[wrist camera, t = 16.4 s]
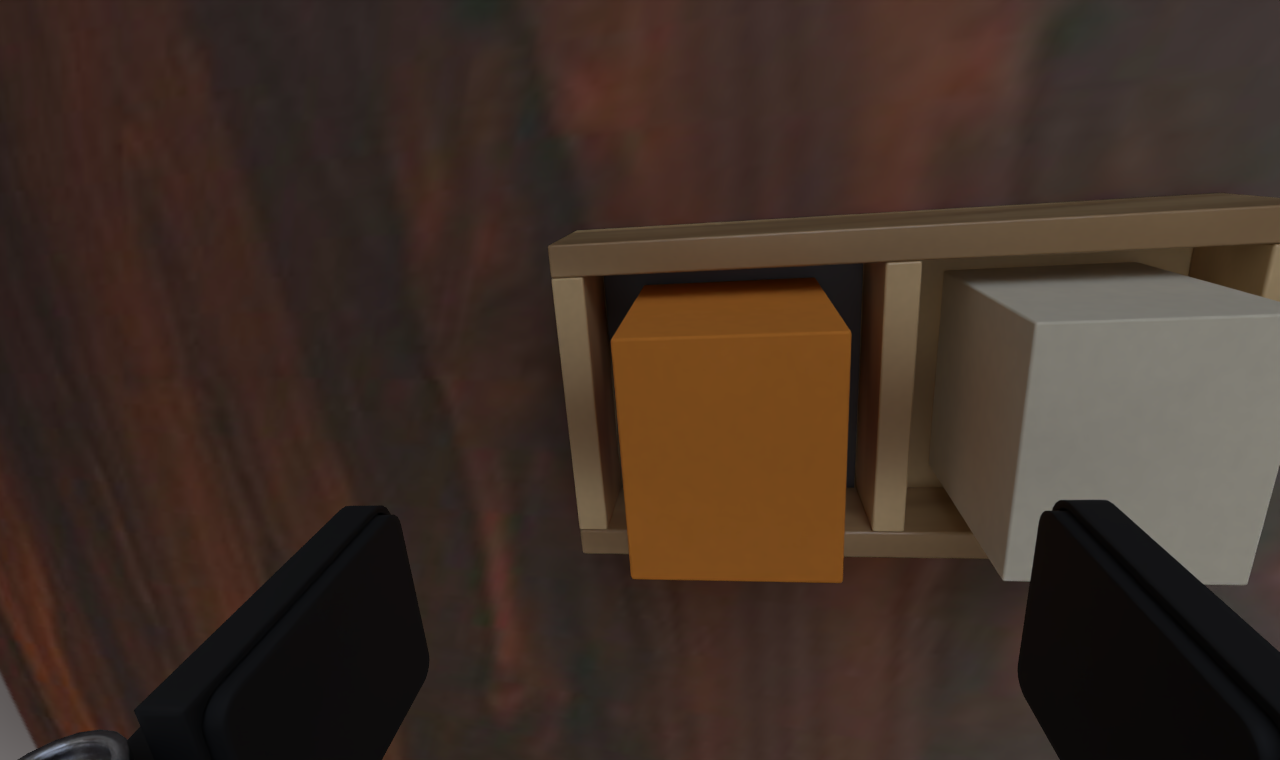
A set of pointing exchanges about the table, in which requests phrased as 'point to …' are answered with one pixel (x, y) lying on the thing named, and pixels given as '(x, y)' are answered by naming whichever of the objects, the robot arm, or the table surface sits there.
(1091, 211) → the wooden frame
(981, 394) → the cream block
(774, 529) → the orange block
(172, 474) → the table surface
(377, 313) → the table surface
